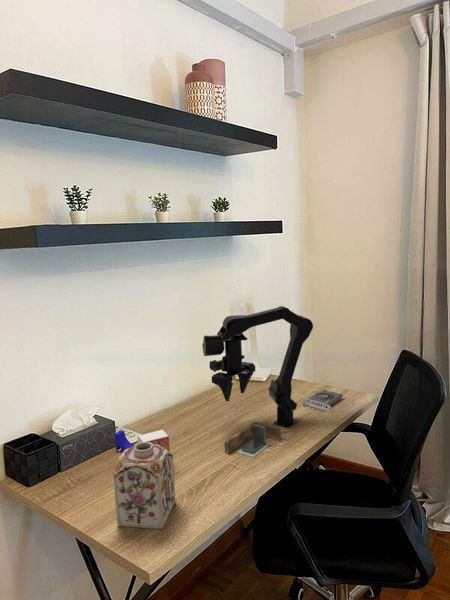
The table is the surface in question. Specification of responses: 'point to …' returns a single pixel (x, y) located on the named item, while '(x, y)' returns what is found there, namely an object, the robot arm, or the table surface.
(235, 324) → the robot arm
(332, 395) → the graphics card
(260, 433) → the angle bracket
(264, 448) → the mat
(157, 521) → the decorative jar
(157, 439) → the small box
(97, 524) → the table surface
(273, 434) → the corner walls
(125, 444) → the blue saddle bracket
